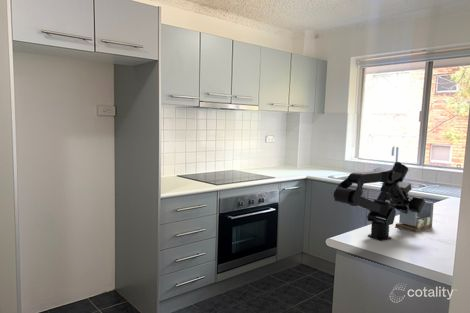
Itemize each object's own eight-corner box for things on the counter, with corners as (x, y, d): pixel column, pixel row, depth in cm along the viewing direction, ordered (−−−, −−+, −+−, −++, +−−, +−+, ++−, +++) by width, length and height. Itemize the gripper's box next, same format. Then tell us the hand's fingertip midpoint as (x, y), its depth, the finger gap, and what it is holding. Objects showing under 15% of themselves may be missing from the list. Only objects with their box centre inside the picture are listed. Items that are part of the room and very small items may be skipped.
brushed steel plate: (430, 224, 158) (431, 203, 157) (410, 219, 165) (411, 199, 165) (432, 223, 159) (433, 202, 158) (412, 218, 167) (413, 198, 166)
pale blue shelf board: (420, 228, 150) (421, 206, 150) (399, 223, 158) (400, 202, 157) (424, 226, 153) (426, 205, 152) (403, 221, 160) (405, 201, 160)
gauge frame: (416, 232, 151) (416, 221, 150) (395, 226, 158) (395, 216, 158) (432, 226, 159) (433, 216, 159) (412, 222, 167) (412, 212, 166)
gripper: (424, 178, 142) (435, 202, 149) (381, 173, 157) (393, 194, 164) (412, 200, 138) (425, 223, 146) (370, 192, 153) (383, 214, 161)
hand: (406, 212), depth 154 cm, fingers closed
